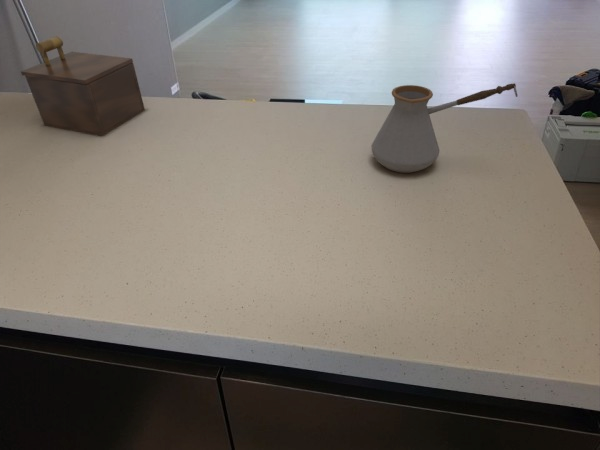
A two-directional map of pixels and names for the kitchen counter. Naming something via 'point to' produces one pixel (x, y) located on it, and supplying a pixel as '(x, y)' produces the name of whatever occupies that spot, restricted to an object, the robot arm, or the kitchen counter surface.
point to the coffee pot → (415, 128)
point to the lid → (73, 64)
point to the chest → (89, 101)
